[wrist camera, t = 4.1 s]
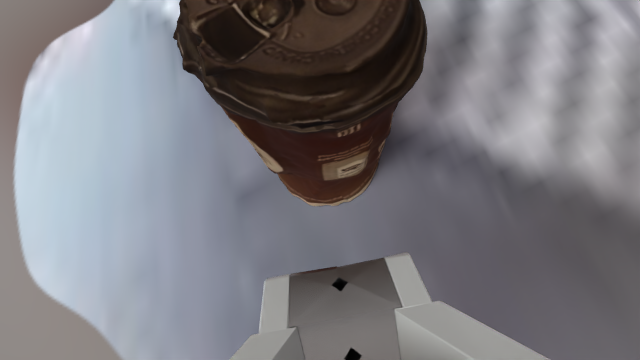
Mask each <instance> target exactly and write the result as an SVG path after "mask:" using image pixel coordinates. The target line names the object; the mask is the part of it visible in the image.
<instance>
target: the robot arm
mask: <svg viewBox="0 0 640 360" xmlns="http://www.w3.org/2000/svg"><path fill="white" fill-rule="evenodd" d="M230 360H550V359H548V358H546V357H544V356H543V355H541V354H539V353H537V352H535V351H533V350H531V349H529V348H528V347H526V346H524V345H522V344H520V343H518V342H516V341H515V340H513V339H511V338H509V337H507V336H505V335H503V334H502V333H500V332H498V331H496V330H494V329H492V328H490V327H488V326H487V325H485V324H483V323H481V322H479V321H477V320H475V319H474V318H472V317H470V316H468V315H466V314H464V313H462V312H461V311H459V310H457V309H455V308H453V307H451V306H449V305H448V304H446V303H444V302H442V301H436V302H433V301H432V299H431V297H430V295H429V293H428V291H427V289H426V287H425V285H424V283H423V280H422V278H421V276H420V274H419V272H418V270H417V268H416V266H415V264H414V262H413V260H412V258H411V256H410V254H409V253H407V252H405V253H401V254H396V255H392V256H387V257H384V258H380V259H375V260H370V261H365V262H360V263H355V264H350V265H345V266H340V267H330V268H324V269H318V270H312V271H306V272H300V273H293V274H290V275H289V274H287V275H282V276H276V277H271V278H267V279H266V280H265V282H264V289H263V298H262V307H261V316H260V325H259V334H255V335H251V336H250V337H249V338H248V339H247V341H246V342H245V343H244V344H243V345H242V346H241V347H240V348H239V350H238V351H237V352H236V353H235V354H234V355H233V356H232V357H231V359H230Z"/></svg>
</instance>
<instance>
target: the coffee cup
mask: <svg viewBox="0 0 640 360" xmlns="http://www.w3.org/2000/svg"><path fill="white" fill-rule="evenodd" d="M179 5H180V16H179V18H178V21H177V27H176V30H175V32H174V36H173V38H174V39H175V40H177V45H178V48H179V50H180V53H181V56H182V58H183V69H184V70H186V71H187V72H188V73H191V74H194V75H195V76H196V77H197V78H198V79H199V80H200V81H201V82H202V83H203V85H204V87H205V89H206V91H207V92H208V93H209V94H210V96H211V97H212V98H213V99H214V100H215V101H216V103H217V104H219V105H220V106H221V107H222V108H223V110H224V111H225V113H226V114H227V115H228V117H229V119H230V120H231V121H232V122H233V123H234V124H235V126H236V127H237V128H238V129H239V131H240V132H241V133H242V134H243V135H244V136H245V137H246V138H247V140H248V141H249V142H250V143H251V144H252V146H253V147H254V148H255V150H256V151H257V153H258V154H259V156H260V157H261V158H262V160H263V162H264V163H265V164H266V166H267V167H268V168H269V169H270V170H271V171H272V172H274V173H277V174H278V176H279V178H280V180H281V181H282V182H283V183H284V185H285V186H286V187H287V189H288V190H289V192H290V193H291V194H292V195H293V196H296V197H298V198H300V199H302V200H303V201H304V202H306V203H307V204H309V205H312V206H323V205H332V206H337V205H339V204H341V203H343V202H350V201H352V200H353V199H354V198H356V197H357V196H359V195H361V194H362V193H363V192H364V191H365V190H366V188H367V187H368V186H369V184H370V182H371V180H372V178H373V176H374V173H375V171H376V169H377V167H378V161H379V159H380V156H381V152H382V149H383V147H384V144H385V139H386V138H387V137H388V135H389V133H390V129H391V121H392V117H393V112H394V111H395V109H396V107H397V104H398V102H399V101H400V100H401V99H402V98H403V97H404V96H405V94H406V93H407V92H408V91H409V90H410V89H411V88H412V87H413V86H414V84H415V82H416V81H417V80H418V78H419V77H420V75H421V73H422V70H423V61H424V56H425V52H426V45H427V26H426V20H425V14H424V11H423V9H422V7H421V4H420V1H419V0H180V3H179Z"/></svg>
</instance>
